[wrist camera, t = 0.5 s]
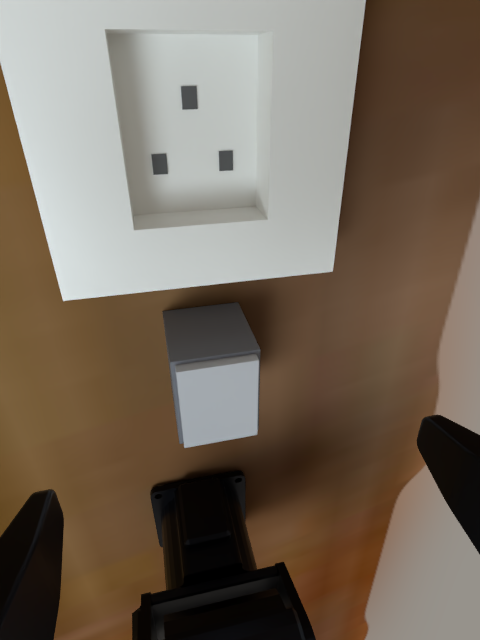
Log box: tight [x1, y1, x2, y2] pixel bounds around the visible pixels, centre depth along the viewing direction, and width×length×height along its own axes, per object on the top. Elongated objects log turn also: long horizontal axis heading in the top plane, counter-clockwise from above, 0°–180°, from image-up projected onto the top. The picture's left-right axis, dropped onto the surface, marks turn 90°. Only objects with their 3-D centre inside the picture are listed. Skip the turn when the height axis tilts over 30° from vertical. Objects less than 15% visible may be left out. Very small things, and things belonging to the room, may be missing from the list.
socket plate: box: [0, 0, 366, 301], centre depth 16 cm, size 12×12×2 cm
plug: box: [163, 302, 260, 448], centre depth 21 cm, size 5×4×5 cm
